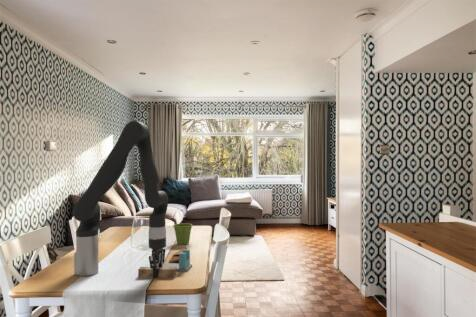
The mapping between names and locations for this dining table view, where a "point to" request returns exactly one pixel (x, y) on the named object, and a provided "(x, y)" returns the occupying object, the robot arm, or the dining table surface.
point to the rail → (161, 272)
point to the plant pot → (182, 232)
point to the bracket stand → (181, 262)
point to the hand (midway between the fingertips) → (157, 275)
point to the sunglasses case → (176, 256)
